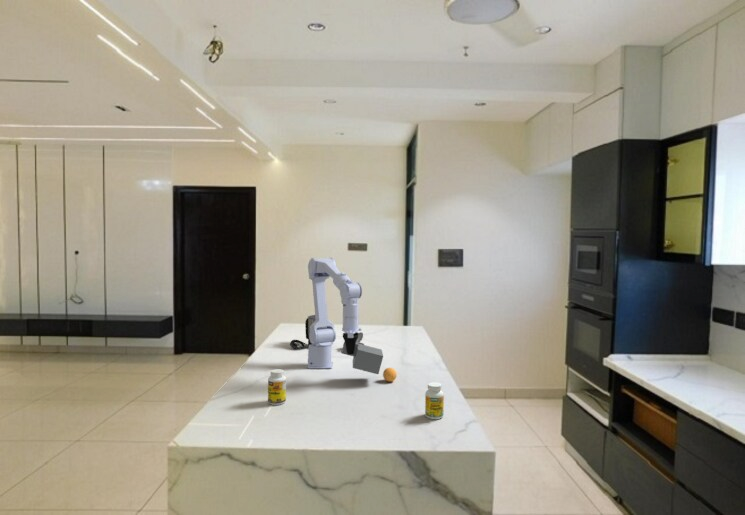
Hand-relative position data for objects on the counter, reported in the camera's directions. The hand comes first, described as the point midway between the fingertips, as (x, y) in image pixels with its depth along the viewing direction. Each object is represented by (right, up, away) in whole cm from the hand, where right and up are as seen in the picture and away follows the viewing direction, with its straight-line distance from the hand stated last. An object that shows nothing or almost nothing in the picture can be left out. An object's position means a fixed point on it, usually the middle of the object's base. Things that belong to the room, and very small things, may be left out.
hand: (350, 353), depth 162 cm
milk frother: (-22, -8, +50) cm, 55 cm away
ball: (+14, -8, +1) cm, 17 cm away
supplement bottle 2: (+26, -12, -30) cm, 42 cm away
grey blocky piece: (+3, -5, 0) cm, 5 cm away
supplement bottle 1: (-22, -11, -21) cm, 32 cm away
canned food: (-1, -9, +46) cm, 46 cm away
